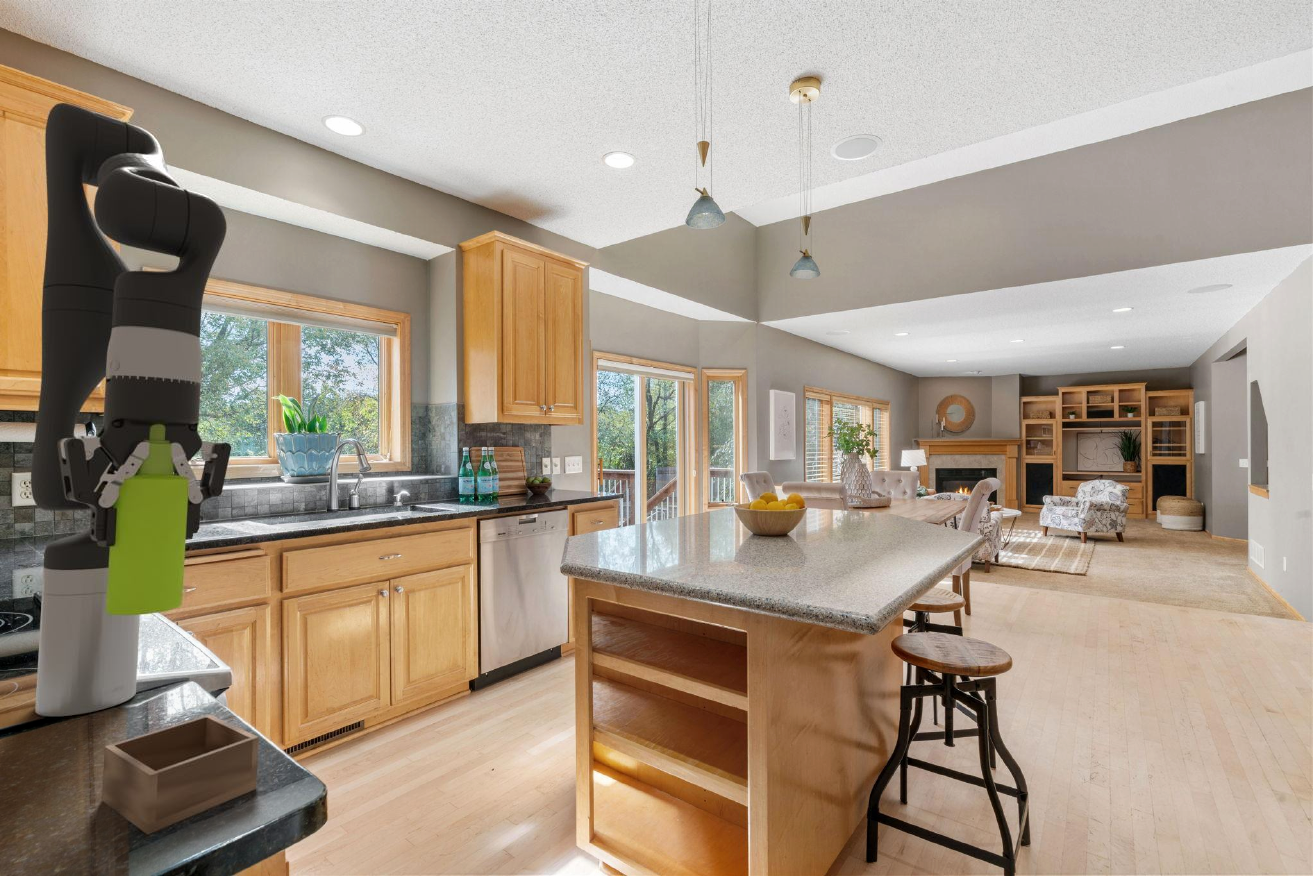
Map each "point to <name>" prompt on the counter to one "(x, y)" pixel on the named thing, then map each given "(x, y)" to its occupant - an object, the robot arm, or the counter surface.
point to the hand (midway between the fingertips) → (146, 541)
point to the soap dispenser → (149, 536)
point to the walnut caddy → (179, 771)
